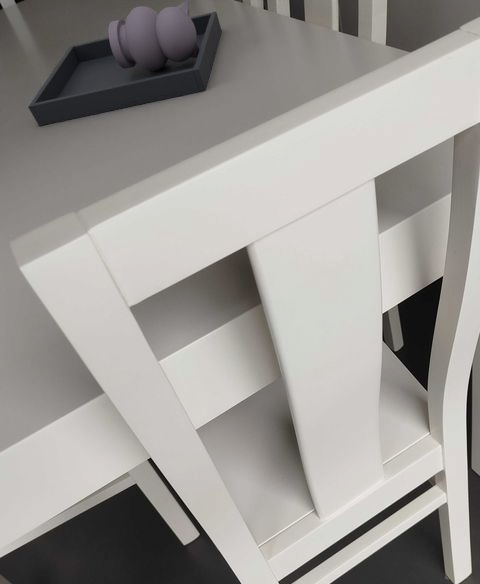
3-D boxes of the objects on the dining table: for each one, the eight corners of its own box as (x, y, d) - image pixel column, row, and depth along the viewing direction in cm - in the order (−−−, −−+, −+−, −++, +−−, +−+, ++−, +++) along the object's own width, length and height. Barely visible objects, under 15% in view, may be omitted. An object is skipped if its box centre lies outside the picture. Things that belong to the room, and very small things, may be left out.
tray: (38, 126, 86) (27, 106, 84) (78, 64, 101) (69, 46, 98) (205, 90, 82) (198, 68, 79) (221, 30, 96) (216, 11, 94)
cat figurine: (98, 17, 82) (179, 1, 80) (117, 7, 88) (193, -8, 86) (119, 82, 87) (196, 69, 85) (136, 68, 93) (208, 56, 91)
